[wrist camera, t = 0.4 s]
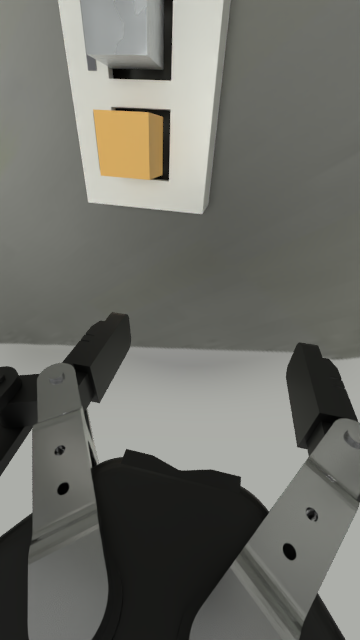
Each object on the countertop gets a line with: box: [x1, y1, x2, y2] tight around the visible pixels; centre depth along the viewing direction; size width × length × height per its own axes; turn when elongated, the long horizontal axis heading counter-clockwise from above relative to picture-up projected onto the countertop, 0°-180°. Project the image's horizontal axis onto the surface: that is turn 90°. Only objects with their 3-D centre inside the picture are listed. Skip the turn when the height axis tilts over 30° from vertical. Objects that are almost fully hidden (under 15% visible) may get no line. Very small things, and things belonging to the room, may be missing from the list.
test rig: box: [58, 0, 231, 214], centre depth 26 cm, size 20×14×6 cm
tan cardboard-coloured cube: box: [93, 109, 163, 180], centre depth 24 cm, size 5×5×4 cm
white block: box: [80, 0, 164, 70], centre depth 19 cm, size 5×5×4 cm
